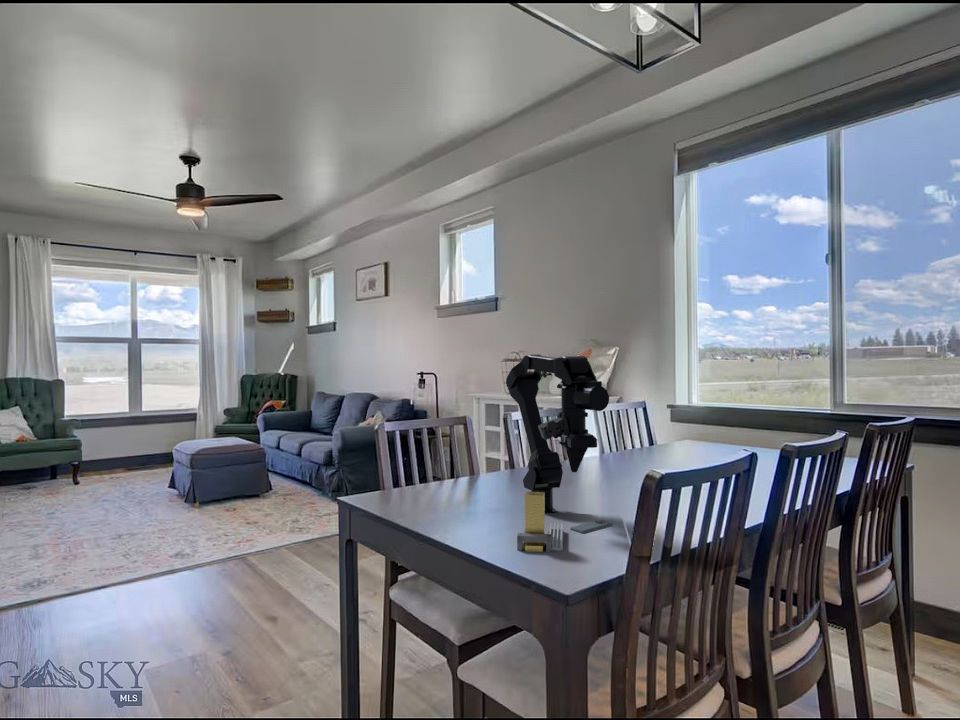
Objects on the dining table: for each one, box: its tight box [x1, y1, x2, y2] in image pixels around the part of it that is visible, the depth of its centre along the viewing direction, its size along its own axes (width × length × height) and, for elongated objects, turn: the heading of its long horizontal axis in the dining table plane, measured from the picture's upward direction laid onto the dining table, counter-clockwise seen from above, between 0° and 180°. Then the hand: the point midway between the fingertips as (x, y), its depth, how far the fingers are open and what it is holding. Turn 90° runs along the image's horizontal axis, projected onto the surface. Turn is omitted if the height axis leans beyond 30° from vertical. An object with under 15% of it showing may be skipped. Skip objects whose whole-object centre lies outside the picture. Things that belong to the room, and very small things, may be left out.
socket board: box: [516, 522, 564, 553], centre depth 128 cm, size 16×12×4 cm
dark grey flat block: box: [570, 519, 613, 534], centre depth 137 cm, size 4×10×2 cm, turn 127°
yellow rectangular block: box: [524, 491, 546, 553], centre depth 124 cm, size 6×4×11 cm, turn 171°
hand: (574, 472), depth 142 cm, fingers closed
